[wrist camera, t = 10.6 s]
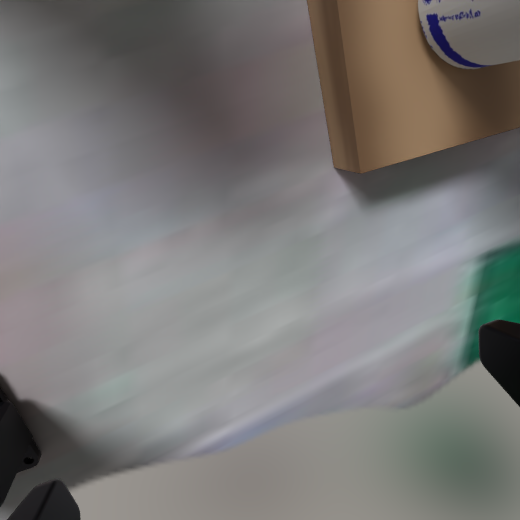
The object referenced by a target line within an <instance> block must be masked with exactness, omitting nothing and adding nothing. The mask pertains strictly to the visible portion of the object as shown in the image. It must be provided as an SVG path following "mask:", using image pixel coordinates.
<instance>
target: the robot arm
mask: <svg viewBox="0 0 520 520" xmlns="http://www.w3.org/2000/svg"><path fill="white" fill-rule="evenodd" d="M479 356H480V360H481V362H482V364H483V365H484V367H485V368H486V369H487V370H488V372H489V373H490V374H491V375H492V376H493V377H494V378H495V379H496V381H497V382H498V383H499V384H500V385H501V386H502V387H503V389H504V390H505V391H506V392H507V393H508V394H509V395H510V396H511V398H512V399H513V400H514V401H515V402H516V403H517V404H518V405H519V407H520V324H519V323H514V322H509V321H504V320H494V321H492V322H489V323H486V324H483V325H482V326H481V327H480V329H479ZM27 457H32V459H30V458H27ZM40 457H41V452H40V450H39V449H38V447H37V446H36V444H35V442H34V441H33V439H32V434H31V433H30V431H29V429H28V428H27V426H26V425H25V423H24V421H23V420H22V418H21V416H20V415H19V413H18V412H17V410H16V408H15V407H14V405H13V404H12V403H11V402H10V401H9V400H8V399H7V397H6V396H5V394H4V392H3V391H2V389H1V388H0V507H1V505H2V504H3V502H4V500H5V498H6V496H7V493H8V491H9V489H10V487H11V484H12V482H13V480H14V478H15V476H16V473H18V472H21V471H23V470H26V469H29V468H32V467H34V466H36V465H37V464H38V462H39V460H40ZM7 520H80V511H79V507H78V505H77V504H76V502H75V500H74V499H73V497H72V495H71V494H70V492H69V490H68V489H67V487H66V485H65V484H64V482H63V481H62V480H60V479H53V480H50V481H48V482H45V483H42V484H39V485H38V486H36V487H34V488H33V490H32V491H31V492H30V493H29V494H28V495H27V497H26V498H25V499H24V500H23V501H22V503H21V504H20V505H19V506H18V507H17V508H16V510H15V511H14V512H13V513H12V514H11V516H10V517H9V518H8V519H7Z"/></svg>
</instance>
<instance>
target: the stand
mask: <svg viewBox="0 0 520 520" xmlns="http://www.w3.org/2000/svg"><path fill="white" fill-rule="evenodd" d="M307 3H308V10H309V16H310V22H311V28H312V34H313V40H314V47H315V53H316V59H317V65H318V71H319V77H320V84H321V90H322V96H323V102H324V108H325V114H326V121H327V127H328V133H329V139H330V145H331V151H332V158H333V164H334V168H338V169H343V170H347V171H351V172H356V173H360V174H361V173H365V172H368V171H371V170H375V169H378V168H382V167H385V166H389V165H392V164H396V163H399V162H402V161H406V160H409V159H413V158H416V157H420V156H423V155H426V154H430V153H433V152H437V151H440V150H444V149H447V148H450V147H454V146H457V145H461V144H464V143H468V142H471V141H474V140H478V139H481V138H485V137H488V136H492V135H495V134H499V133H502V132H505V131H509V130H512V129H516V128H519V127H520V60H518V61H512V62H507V63H502V64H497V65H492V66H487V67H483V68H478V69H461V68H457V67H455V66H452V65H450V64H448V63H447V62H445V61H443V60H442V59H441V58H440V57H439V56H438V55H437V54H436V53H435V52H434V51H433V49H432V48H431V46H430V45H429V43H428V41H427V39H426V37H425V35H424V32H423V29H422V26H421V23H420V17H419V11H418V0H307Z"/></svg>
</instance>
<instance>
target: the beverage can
mask: <svg viewBox="0 0 520 520" xmlns="http://www.w3.org/2000/svg"><path fill="white" fill-rule="evenodd" d="M418 11H419V17H420V23H421V26H422V29H423V32H424V35H425V37H426V39H427V41H428V43H429V45H430V46H431V48H432V49H433V51H434V52H435V53H436V54H437V55H438V56H439V57H440V58H441V59H442V60H443V61H445V62H447V63H448V64H450V65H452V66H455V67H457V68H461V69H478V68H483V67H487V66H492V65H497V64H502V63H507V62H512V61H518V60H520V0H418Z"/></svg>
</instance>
